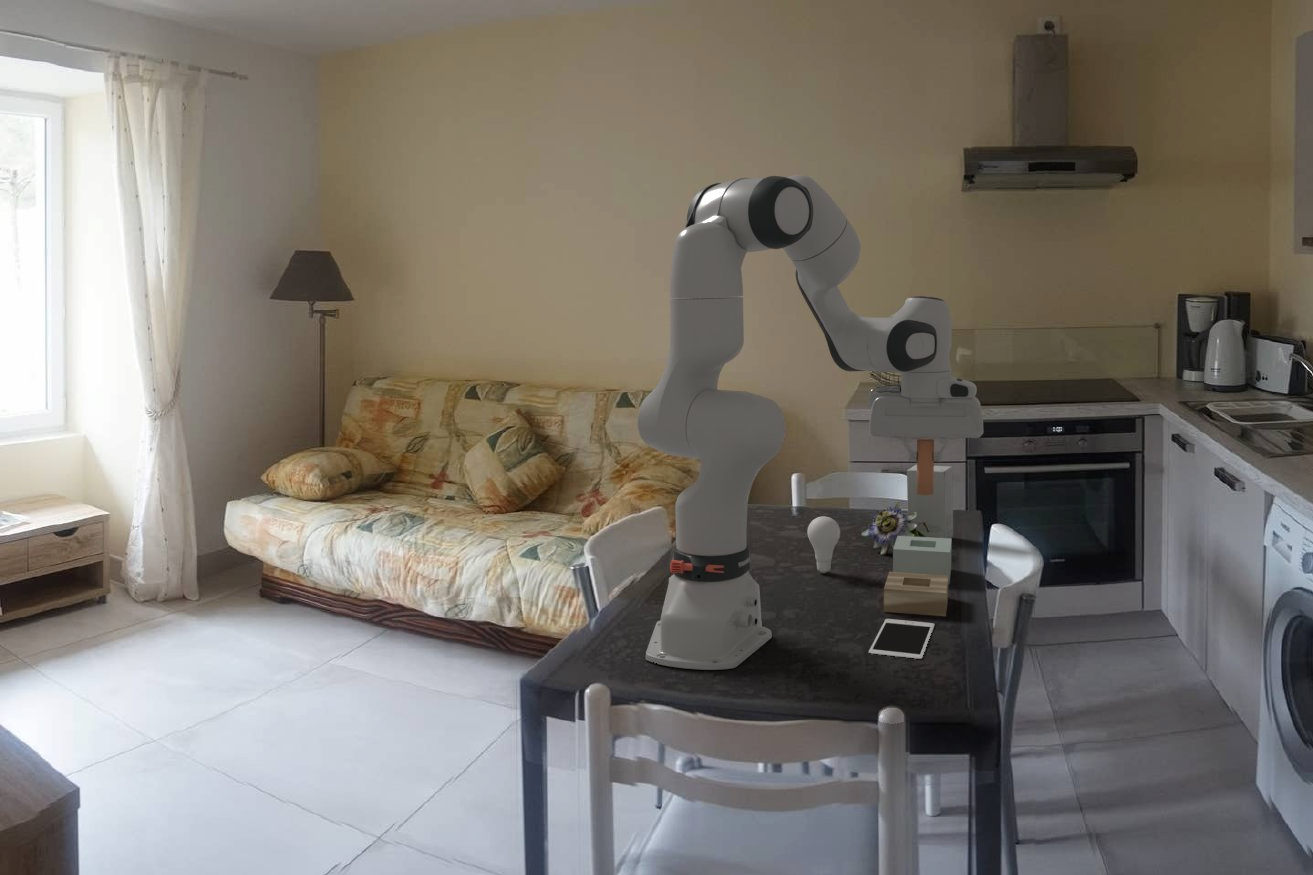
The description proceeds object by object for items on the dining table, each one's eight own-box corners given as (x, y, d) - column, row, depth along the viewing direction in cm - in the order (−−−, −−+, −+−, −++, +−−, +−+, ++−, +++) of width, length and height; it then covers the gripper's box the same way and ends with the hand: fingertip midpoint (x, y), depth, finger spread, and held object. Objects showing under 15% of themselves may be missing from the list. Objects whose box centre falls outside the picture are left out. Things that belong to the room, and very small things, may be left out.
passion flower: (884, 580, 201) (849, 532, 202) (903, 558, 209) (870, 511, 210) (927, 557, 194) (891, 507, 195) (945, 535, 202) (910, 487, 203)
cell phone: (935, 626, 159) (935, 623, 159) (921, 662, 144) (921, 658, 144) (885, 621, 162) (885, 618, 162) (868, 656, 147) (868, 652, 147)
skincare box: (953, 537, 212) (955, 466, 209) (944, 545, 206) (946, 471, 204) (915, 533, 216) (916, 463, 214) (905, 540, 210) (906, 468, 208)
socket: (949, 584, 179) (950, 552, 178) (892, 580, 183) (893, 549, 182) (951, 569, 189) (951, 538, 188) (897, 565, 192) (897, 535, 191)
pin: (933, 495, 181) (933, 441, 180) (916, 494, 182) (916, 441, 181) (933, 491, 184) (934, 438, 182) (917, 491, 185) (917, 438, 183)
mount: (945, 616, 163) (946, 592, 162) (883, 611, 166) (883, 588, 165) (947, 597, 172) (948, 575, 171) (888, 593, 175) (889, 571, 174)
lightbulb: (839, 578, 185) (839, 520, 183) (806, 577, 186) (806, 520, 184) (840, 569, 191) (840, 513, 189) (808, 568, 192) (808, 512, 190)
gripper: (865, 388, 180) (866, 462, 182) (984, 388, 174) (982, 465, 176) (869, 384, 186) (869, 456, 188) (984, 384, 180) (982, 459, 182)
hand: (925, 461), depth 182 cm, fingers closed on pin, 3 cm apart
